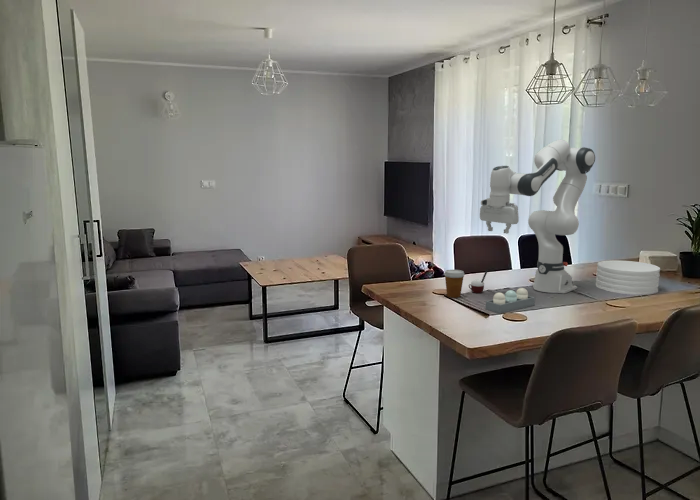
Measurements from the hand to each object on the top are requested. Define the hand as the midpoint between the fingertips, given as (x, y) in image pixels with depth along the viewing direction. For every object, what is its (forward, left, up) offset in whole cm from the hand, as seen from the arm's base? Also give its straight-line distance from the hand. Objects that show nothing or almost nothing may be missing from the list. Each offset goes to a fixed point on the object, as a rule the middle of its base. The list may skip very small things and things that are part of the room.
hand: (498, 232), depth 248 cm
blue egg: (+10, +17, -30) cm, 36 cm away
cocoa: (-1, -12, -31) cm, 34 cm away
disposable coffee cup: (+14, -13, -31) cm, 37 cm away
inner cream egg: (+2, +17, -30) cm, 35 cm away
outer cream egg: (+17, +17, -30) cm, 38 cm away
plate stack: (-70, +23, -32) cm, 80 cm away
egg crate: (+10, +17, -31) cm, 37 cm away
